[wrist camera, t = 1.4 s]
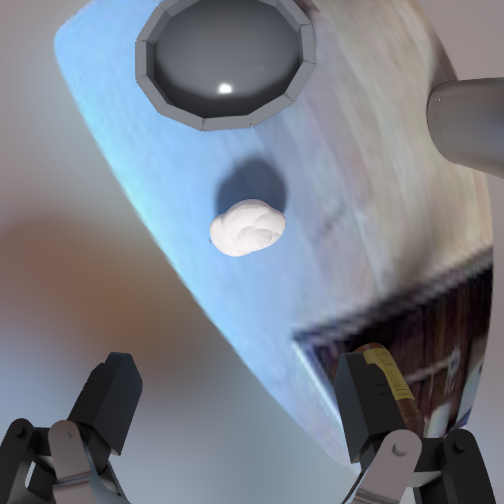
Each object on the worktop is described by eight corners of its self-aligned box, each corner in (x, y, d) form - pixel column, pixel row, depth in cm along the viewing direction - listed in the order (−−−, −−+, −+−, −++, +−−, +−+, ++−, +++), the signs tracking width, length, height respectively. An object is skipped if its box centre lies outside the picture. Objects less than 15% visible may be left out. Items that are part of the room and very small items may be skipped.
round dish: (301, -10, 17) (306, -23, 14) (312, 127, 22) (320, 126, 20) (147, 5, 17) (137, -5, 14) (150, 139, 23) (139, 140, 20)
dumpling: (267, 180, 25) (269, 189, 21) (292, 229, 27) (298, 245, 23) (200, 215, 26) (192, 229, 22) (228, 259, 28) (224, 279, 24)
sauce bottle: (353, 377, 35) (388, 499, 17) (337, 355, 33) (374, 495, 15) (393, 355, 34) (444, 473, 16) (381, 330, 32) (442, 464, 14)
